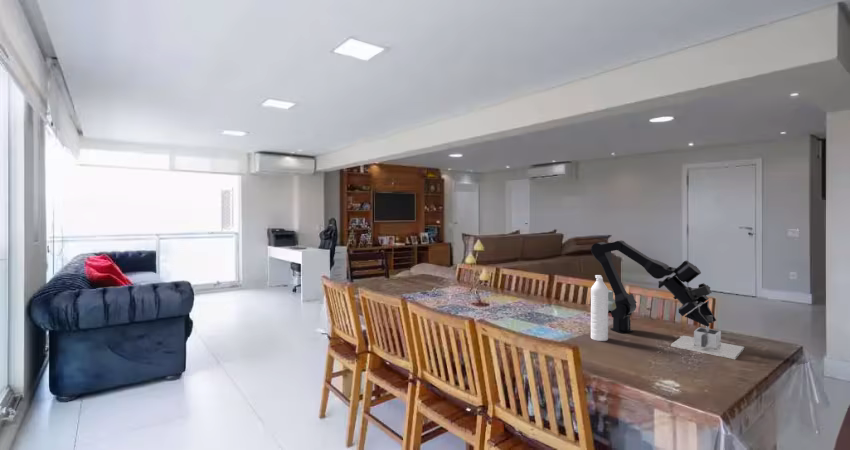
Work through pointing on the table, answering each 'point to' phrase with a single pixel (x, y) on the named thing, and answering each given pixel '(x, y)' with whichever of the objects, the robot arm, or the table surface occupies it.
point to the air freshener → (611, 301)
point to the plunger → (709, 320)
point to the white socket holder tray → (708, 344)
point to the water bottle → (599, 310)
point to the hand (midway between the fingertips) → (711, 323)
